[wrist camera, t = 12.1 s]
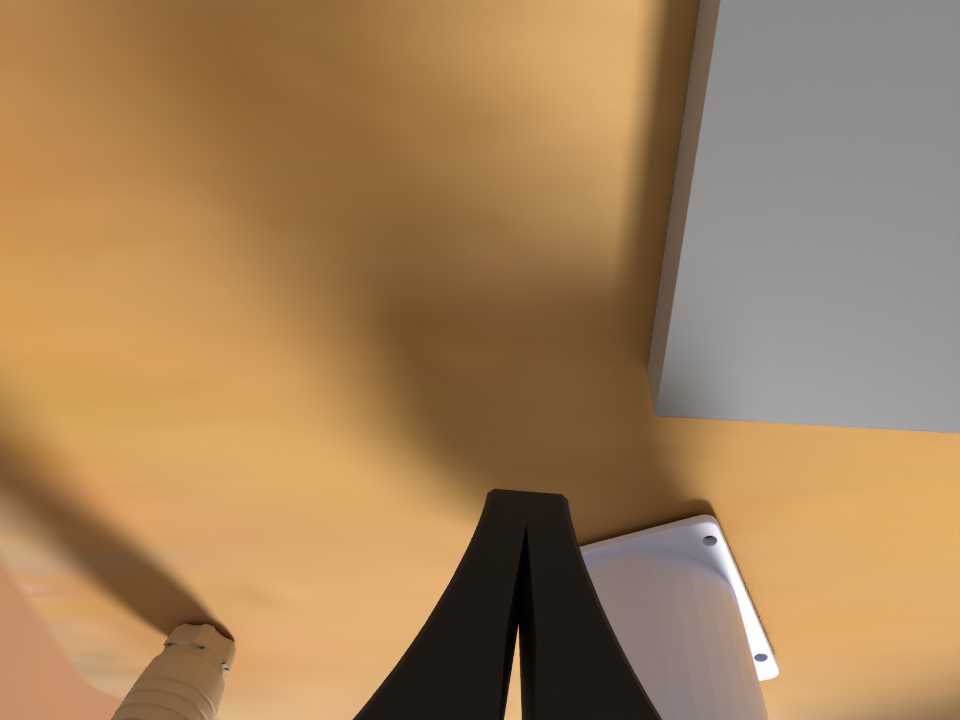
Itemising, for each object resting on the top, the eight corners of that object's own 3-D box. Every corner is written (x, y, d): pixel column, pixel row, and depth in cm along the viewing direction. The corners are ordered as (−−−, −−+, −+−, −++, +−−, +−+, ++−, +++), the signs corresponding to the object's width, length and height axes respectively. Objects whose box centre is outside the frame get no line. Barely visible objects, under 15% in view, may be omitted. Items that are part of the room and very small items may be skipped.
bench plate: (647, 371, 23) (655, 415, 21) (715, -107, 16) (738, -115, 14) (1038, 391, 22) (1090, 440, 19) (1288, -113, 15) (1409, -122, 13)
